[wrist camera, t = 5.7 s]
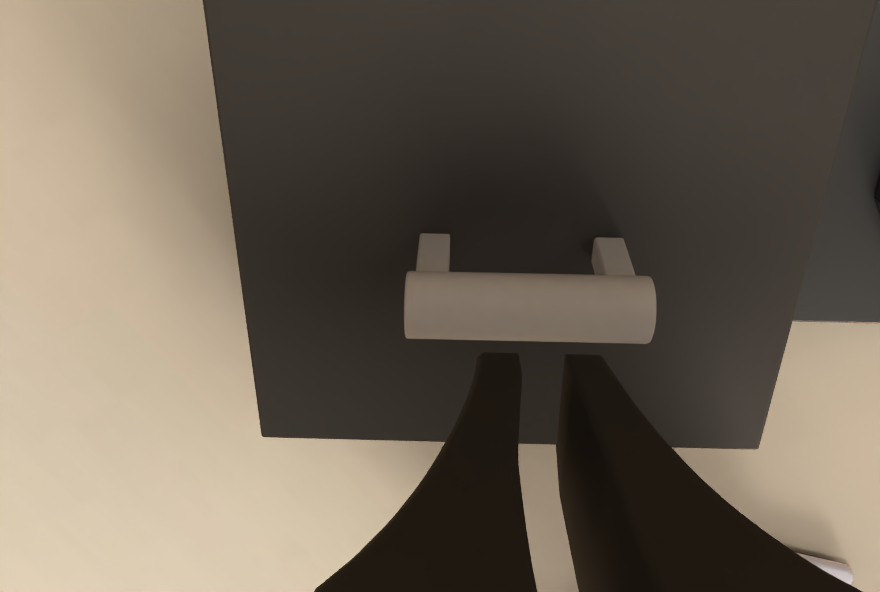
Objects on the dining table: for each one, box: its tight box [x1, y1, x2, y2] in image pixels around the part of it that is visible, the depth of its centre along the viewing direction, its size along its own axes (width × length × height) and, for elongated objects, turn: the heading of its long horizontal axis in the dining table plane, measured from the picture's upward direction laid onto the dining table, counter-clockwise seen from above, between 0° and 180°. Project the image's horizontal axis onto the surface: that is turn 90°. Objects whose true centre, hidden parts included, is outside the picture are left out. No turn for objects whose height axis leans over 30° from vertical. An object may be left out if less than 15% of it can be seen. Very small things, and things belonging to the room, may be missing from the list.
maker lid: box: [203, 0, 878, 449], centre depth 18 cm, size 13×13×4 cm
